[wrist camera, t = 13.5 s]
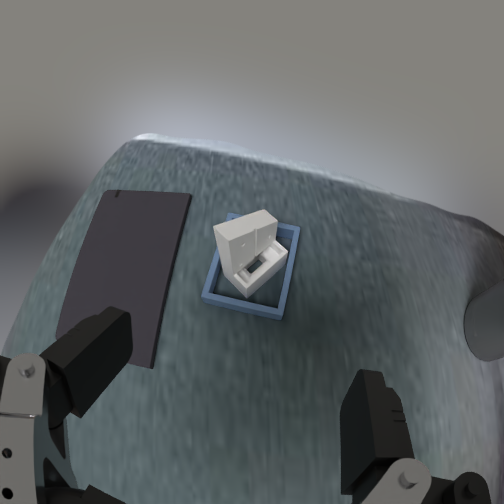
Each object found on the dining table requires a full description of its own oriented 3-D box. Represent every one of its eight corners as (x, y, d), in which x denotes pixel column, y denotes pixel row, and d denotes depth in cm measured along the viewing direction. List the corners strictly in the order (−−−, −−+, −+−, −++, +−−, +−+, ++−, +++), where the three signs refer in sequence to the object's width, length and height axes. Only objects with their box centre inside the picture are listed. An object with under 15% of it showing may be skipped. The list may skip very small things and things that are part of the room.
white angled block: (188, 293, 29) (213, 226, 23) (252, 260, 36) (283, 202, 30) (212, 320, 27) (244, 256, 22) (274, 281, 34) (310, 224, 29)
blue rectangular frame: (298, 236, 34) (300, 227, 32) (280, 320, 30) (282, 315, 28) (229, 222, 35) (228, 212, 33) (204, 302, 31) (200, 296, 29)
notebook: (154, 370, 28) (192, 200, 37) (149, 368, 26) (190, 193, 36) (60, 343, 28) (108, 196, 38) (53, 340, 27) (104, 189, 37)
